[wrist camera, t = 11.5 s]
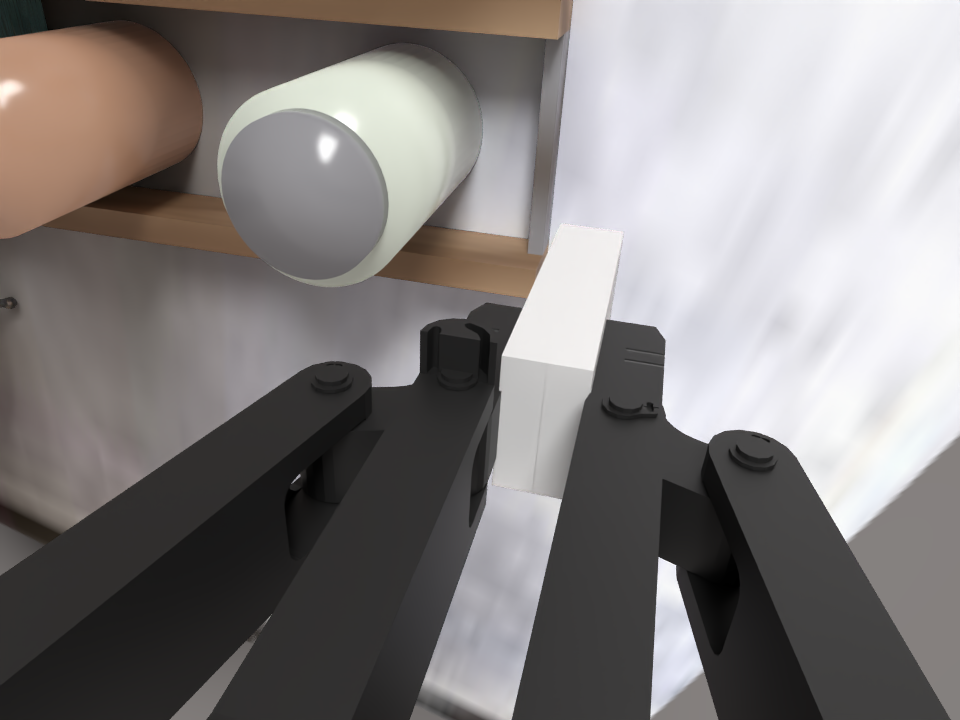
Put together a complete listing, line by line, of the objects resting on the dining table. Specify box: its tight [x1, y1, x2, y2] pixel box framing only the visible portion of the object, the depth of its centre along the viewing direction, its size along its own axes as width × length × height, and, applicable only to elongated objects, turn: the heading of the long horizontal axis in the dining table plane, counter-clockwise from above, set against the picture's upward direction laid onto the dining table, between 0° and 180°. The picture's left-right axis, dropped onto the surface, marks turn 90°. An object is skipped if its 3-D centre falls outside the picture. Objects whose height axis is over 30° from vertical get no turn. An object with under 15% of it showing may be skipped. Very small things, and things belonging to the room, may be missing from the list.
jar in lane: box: [0, 20, 203, 239], centre depth 27 cm, size 6×6×9 cm
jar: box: [217, 43, 483, 287], centre depth 25 cm, size 6×6×10 cm
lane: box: [41, 0, 573, 298], centre depth 29 cm, size 10×29×3 cm, turn 87°
